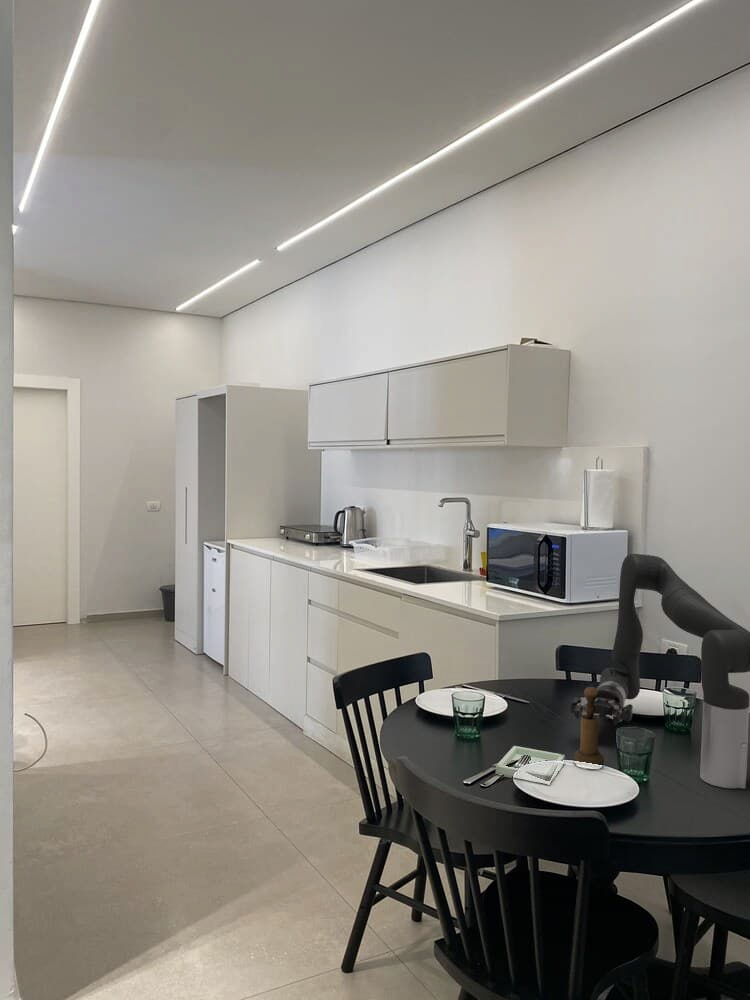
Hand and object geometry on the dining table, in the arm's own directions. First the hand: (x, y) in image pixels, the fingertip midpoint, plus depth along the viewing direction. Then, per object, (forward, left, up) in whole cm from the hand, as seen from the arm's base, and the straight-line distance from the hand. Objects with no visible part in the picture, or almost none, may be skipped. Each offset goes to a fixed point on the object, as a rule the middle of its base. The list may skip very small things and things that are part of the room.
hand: (595, 717), depth 191 cm
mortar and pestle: (0, +7, -9) cm, 12 cm away
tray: (+11, +16, -9) cm, 21 cm away
